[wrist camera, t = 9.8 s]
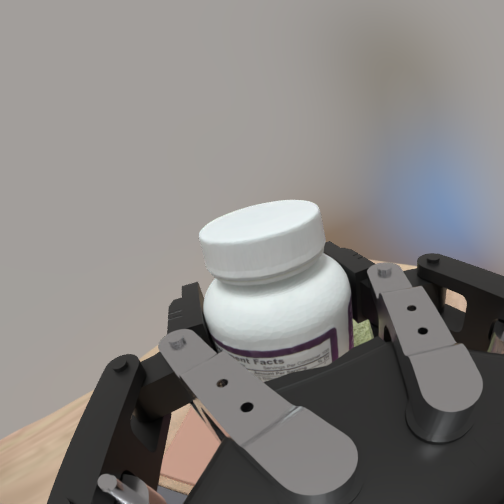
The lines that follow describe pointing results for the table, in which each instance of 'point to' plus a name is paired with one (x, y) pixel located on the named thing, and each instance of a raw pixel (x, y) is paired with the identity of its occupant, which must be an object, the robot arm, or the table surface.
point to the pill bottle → (275, 289)
